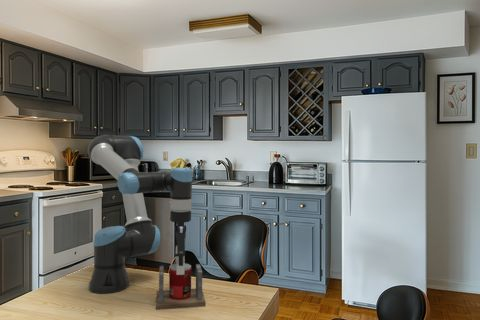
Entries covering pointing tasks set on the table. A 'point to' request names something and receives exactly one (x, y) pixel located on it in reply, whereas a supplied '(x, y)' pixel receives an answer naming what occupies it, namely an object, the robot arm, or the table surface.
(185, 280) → the canned food
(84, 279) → the table surface
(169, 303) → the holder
